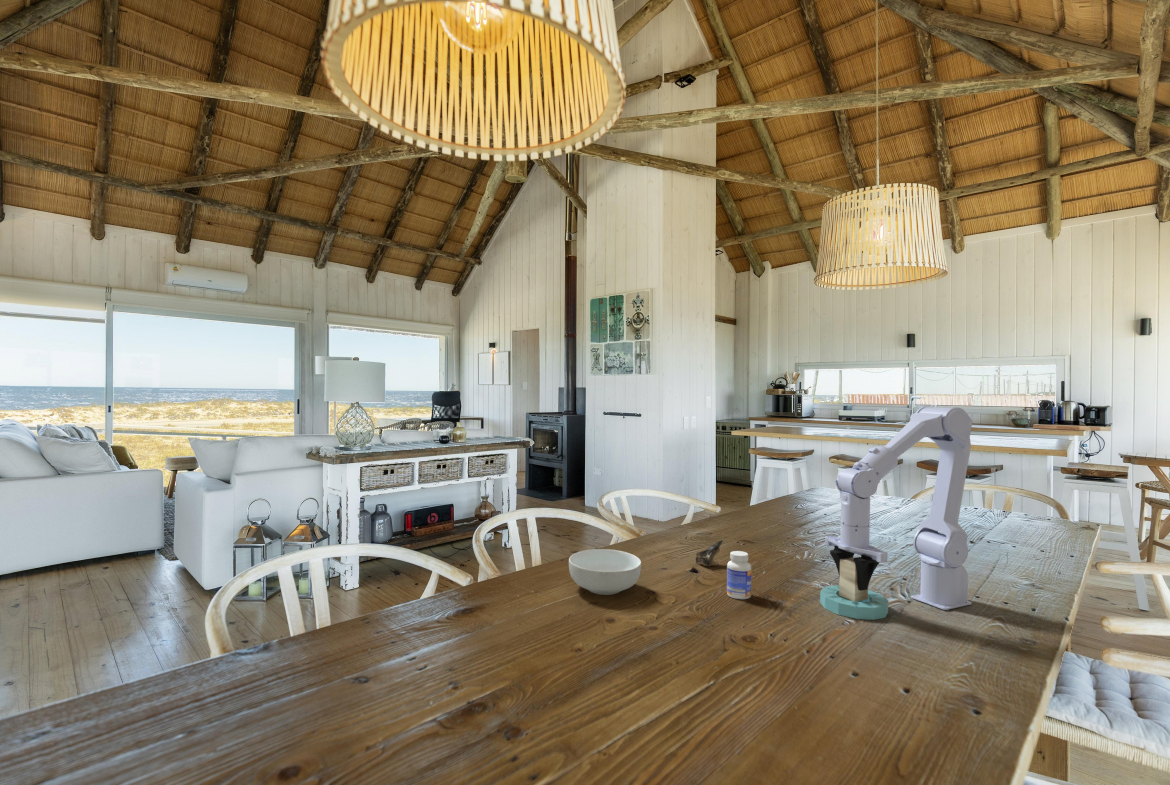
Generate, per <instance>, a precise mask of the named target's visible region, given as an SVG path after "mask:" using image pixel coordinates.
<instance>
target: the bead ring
mask: <svg viewBox="0 0 1170 785" xmlns="http://www.w3.org/2000/svg"><path fill="white" fill-rule="evenodd" d="M819 593H820V594H819V595H820V596H819V598H820V599H819V602H820V605H821V606H822V607H823V608H824V609H825V610H827V611H829V612H831V613H834V614H836V615H838V616H842V617H847V618H850V619H855V620H867V621H868V620H871V621H875V620H879V619H884V618H887V615H888V614H889V600H888V599H887V598H886V597H885V596H884V595H883V594H881V593H878V592H876V591H873V590H870V589H868V599H867V600H861V601H856V602H854V601H852V600H849V599H847V598H844V597H842V596H840V595H839V584H837V585H836V584H835V585H830V586H829V585H828V586H824V587H823V588H822V589H821V590H820V592H819Z"/></svg>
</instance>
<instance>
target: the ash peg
mask: <svg viewBox="0 0 1170 785" xmlns="http://www.w3.org/2000/svg"><path fill="white" fill-rule="evenodd" d="M854 558H855V557H854V556H853V557H851V558H844V559H840V577H839V584H838V585H839V595H840V596H842V597H844V598H847V599H849V600H852V601H854V602H856V601H861V600H867V599H868V590H869V588H868V589H867V590H863V591H860V590H858V585H857V570H856V565H855V562H854Z"/></svg>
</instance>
